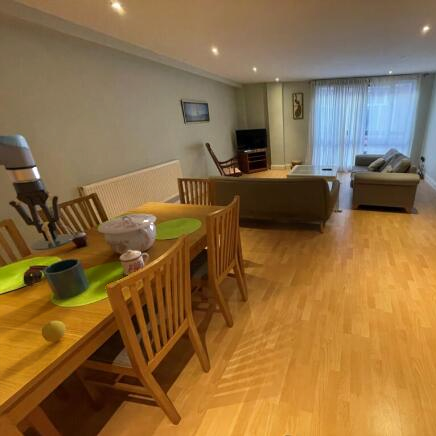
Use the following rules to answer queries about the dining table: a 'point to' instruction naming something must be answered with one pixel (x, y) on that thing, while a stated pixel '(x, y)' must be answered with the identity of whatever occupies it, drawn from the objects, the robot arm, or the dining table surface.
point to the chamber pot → (129, 232)
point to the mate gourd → (79, 238)
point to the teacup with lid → (132, 261)
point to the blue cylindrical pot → (66, 278)
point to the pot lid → (51, 240)
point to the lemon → (53, 331)
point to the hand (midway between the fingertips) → (51, 238)
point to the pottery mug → (33, 274)
